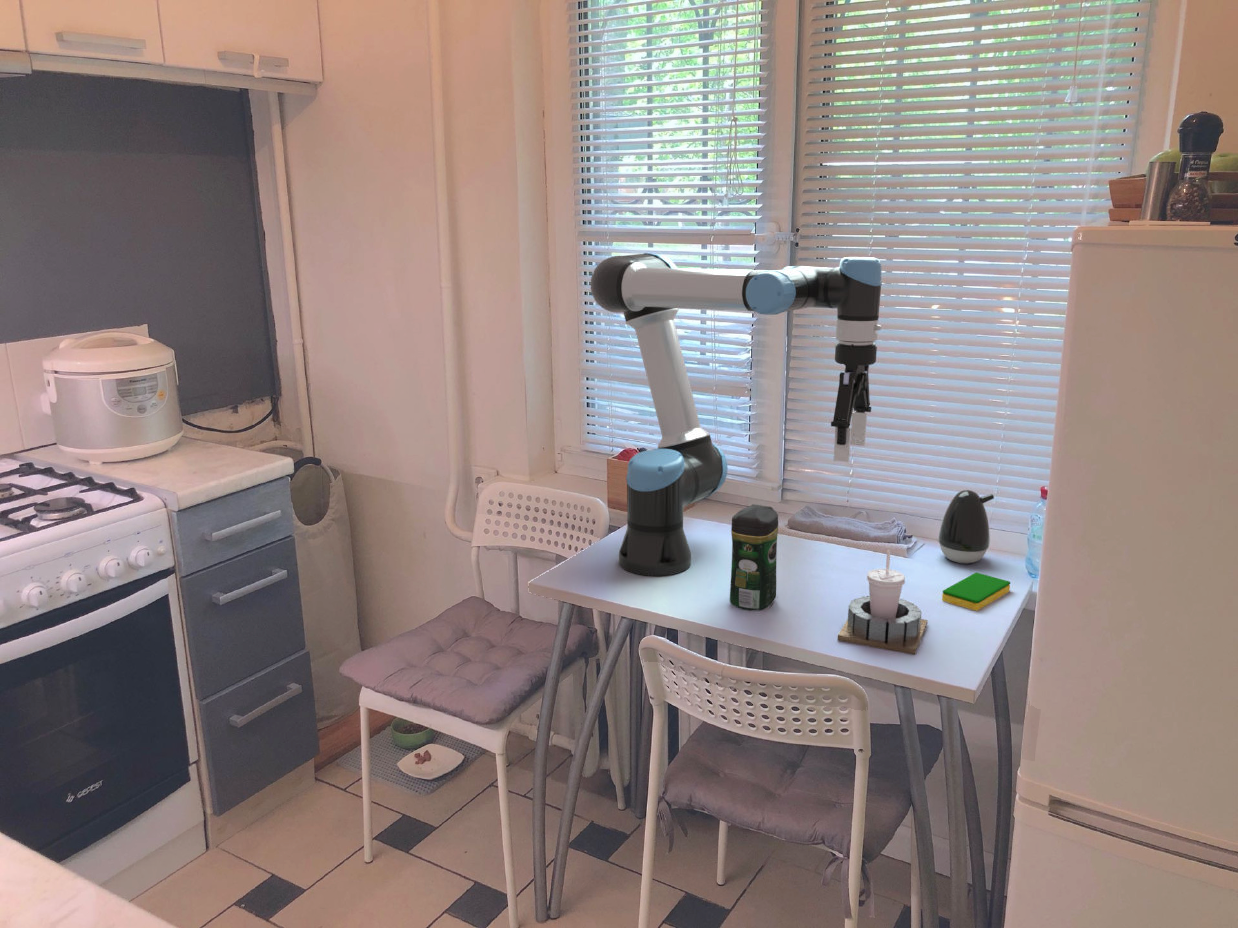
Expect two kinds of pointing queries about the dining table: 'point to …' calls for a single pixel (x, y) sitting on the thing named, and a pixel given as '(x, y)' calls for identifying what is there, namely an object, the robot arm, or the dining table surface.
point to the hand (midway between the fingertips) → (849, 452)
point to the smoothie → (885, 590)
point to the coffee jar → (754, 557)
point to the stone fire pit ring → (884, 627)
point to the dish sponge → (976, 591)
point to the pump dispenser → (965, 528)
